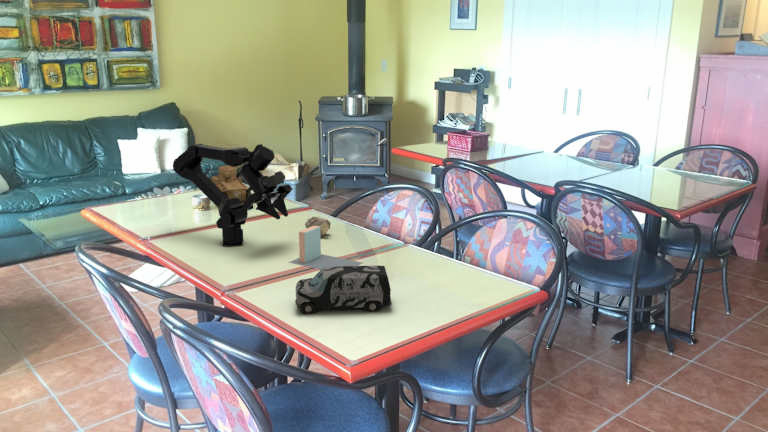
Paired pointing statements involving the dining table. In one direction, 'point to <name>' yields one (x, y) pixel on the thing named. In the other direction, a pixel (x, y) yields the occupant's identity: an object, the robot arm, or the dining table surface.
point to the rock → (319, 224)
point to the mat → (326, 262)
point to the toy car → (344, 289)
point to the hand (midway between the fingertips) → (283, 217)
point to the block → (309, 244)
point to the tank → (231, 183)
